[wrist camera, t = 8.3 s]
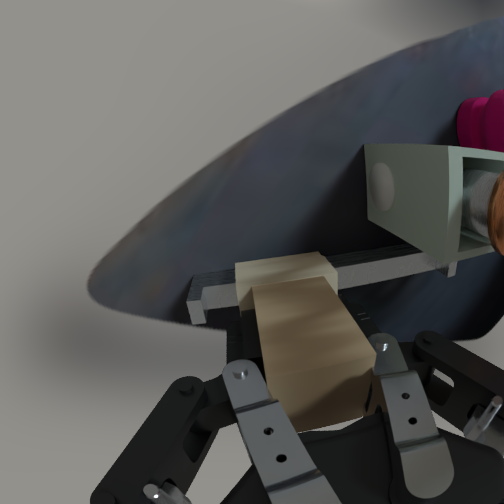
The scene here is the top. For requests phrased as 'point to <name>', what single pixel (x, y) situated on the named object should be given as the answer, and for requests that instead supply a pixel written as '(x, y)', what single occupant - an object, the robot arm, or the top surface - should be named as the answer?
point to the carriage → (307, 339)
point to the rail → (347, 265)
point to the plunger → (484, 205)
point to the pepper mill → (482, 123)
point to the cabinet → (426, 195)
